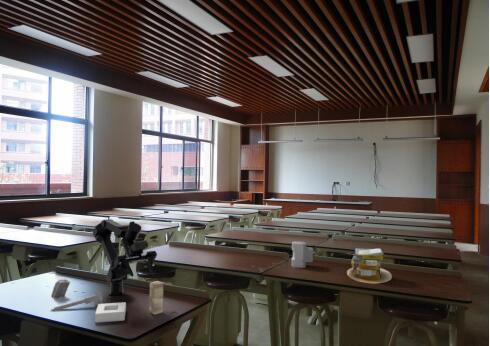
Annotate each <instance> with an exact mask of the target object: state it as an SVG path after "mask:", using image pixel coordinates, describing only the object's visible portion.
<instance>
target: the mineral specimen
mask: <svg viewBox="0 0 490 346" xmlns="http://www.w3.org/2000/svg"><path fill="white" fill-rule="evenodd" d="M70 284H71V281H70V280H68V279H58V280H57V281H56V282H55V284H54V286H53V289H52V292H51V297H52V299H54V300H55V299H60V298H62V297H63V298H64V297H65V296H66V294H67V292H68V288H69V286H70Z"/></svg>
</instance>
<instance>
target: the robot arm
mask: <svg viewBox="0 0 490 346" xmlns="http://www.w3.org/2000/svg"><path fill="white" fill-rule="evenodd" d="M141 231H142V226H141V224H138V223H136V222H135V221H129V224H120V223H118V222H117V221H115V220H113V219H111V218H109V219H103V220H101V221H100V223H98V224H97V225H95V227H94V228H93V229H92V236H93V237H94V239H95V241H96V242H98V243H100V244H101V246H102V249H103V252H104V254H105V256H106V258H107V259H106V260H107V261H108V264H109V268H108V270H107V271H108V272H107V274H106V276H105V280H106V282H108V283H110V290H109V293H108V296H117V295H118V296H119V295H123V294H124V291H125V289H124V287H123V286H124V281H126V280H128V276H130V277H134V276H135V274H134V272H133V270H132V268H131V265H130V263H134V262H140V261H144V263H145V267H147V269H148V271H149V272H150V273H151V274H153V273H154V264H153V263H154V262H155V260H156V258H157V256H158V253H157V251H156V250H149V251H146V254H144V250H146V249H147V248H148V247H149V242H148V241H147V239H146V240H145V239H144V240H142V241H136V240H138V237H139V235H140V234H141ZM112 233H113V235H114V237H116V238H117V239H121V240H120V247H122V248H123V249H124V254H123V255H121V254H120V255H118V253H117V252H116V249H115V246H114V244H113V242H112V239H111V237H112ZM142 254H144V255H142Z"/></svg>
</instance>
